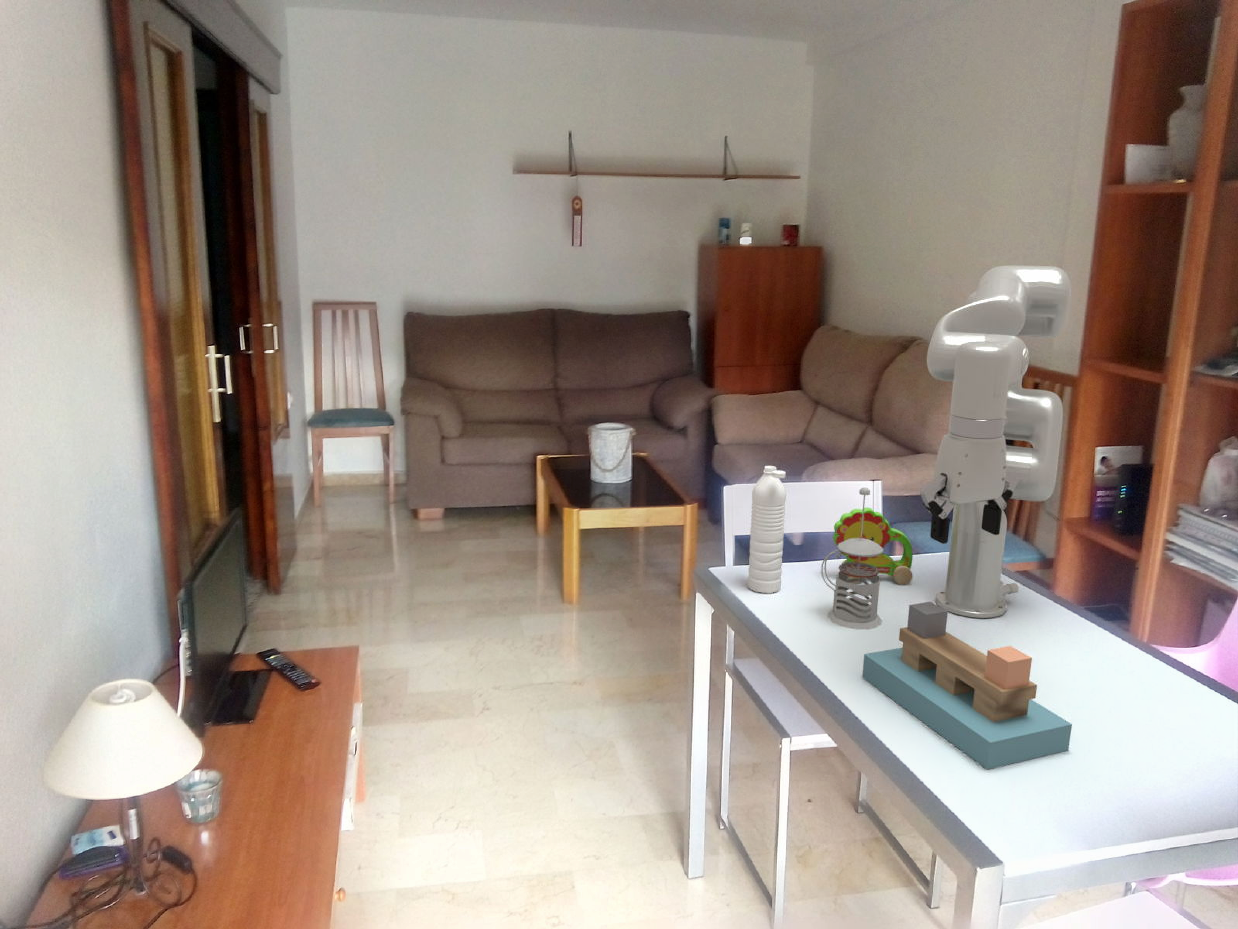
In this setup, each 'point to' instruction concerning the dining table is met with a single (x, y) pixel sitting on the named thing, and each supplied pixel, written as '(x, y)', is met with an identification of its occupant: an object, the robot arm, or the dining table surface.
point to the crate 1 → (927, 620)
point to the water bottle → (767, 532)
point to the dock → (967, 715)
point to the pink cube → (1008, 667)
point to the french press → (856, 609)
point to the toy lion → (880, 534)
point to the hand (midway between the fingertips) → (964, 536)
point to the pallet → (965, 674)
